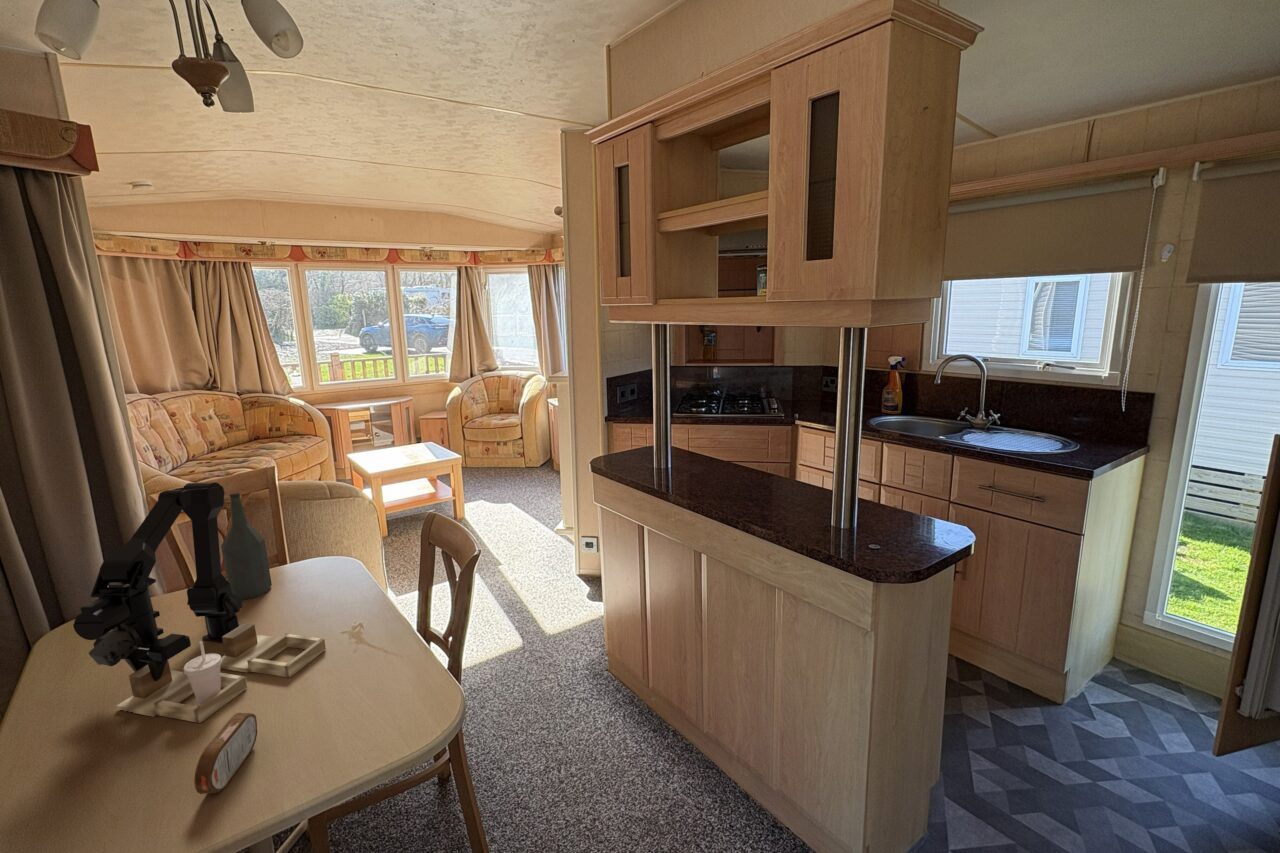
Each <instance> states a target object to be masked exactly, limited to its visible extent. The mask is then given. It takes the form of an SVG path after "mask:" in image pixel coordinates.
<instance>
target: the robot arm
mask: <svg viewBox="0 0 1280 853" xmlns="http://www.w3.org/2000/svg"><path fill="white" fill-rule="evenodd" d="M224 506H225V489H224V487H223V485H221V484H220V483H218V482H213V481H212V482H208V481H207V482H188V483H186V484H185V485H183V487H177V488H172V489H165V490H163V491H161V492H160V493H159V494H158V497H157V501H156V503H155V504H154V505H153V507H152V508H151V509H150V511H149V512H148V514H147V516H145V518H144V520H143V521H142V522H141V523H140V524H139V527H138V528H137V529H136V531H135V532H134V533H133V535H132V536H131V538H130V539H129V540H128V541H127V542H126V543H124V544H122V545H121V546H119V547H117V548H115V549H114V550H113V551H112V552H111V553H110V554H109V556H107V557H106V558H105V560H104V561H103V562H102V563H101V565H100V567H99V571H98V573H97V577H96V579H95V583H94V585H93V588H92V591H91V593H90V598H92V599H93V598H94V599H95V600H94V601H91V602H90V603H87V604H85V605H82V606H81V607H80V614H77V616H76V617H75V619H74V621H73V624H72V625H73V629H74V632H75V633H76V634H77V635H78V636H79V637H80V638H82V639H84V640H86V641H87V640H88V641H94V642H93V647H92V648H91V649H90V650H89V652H88V655H89V656H90V657H91V658H92V660H94V662H96V664H97V665H98V666H99V665H104V666H107V667H115V666H117V664H119V663H120V662H121V660H124V661H125V663H127V664H128V666H130V667H129V668H131V669H132V671H134V672H136V671H137V670H139V669H141V668H142V667H144V666H146V665H148V667H149V669H150V672H151V675H152V677H153V679H154V681H158V680H159V679H160V678H161V676H162V673H163V671H164V668H165V665H166V662H167V660H168V661H169V660H170V659H172V658H173V657H175V656H177V655H179V654H180V653H182V652H183V651H185V650H186V649H188V648H189V647H191V645H192V644H191V639H190V636H189V635H185V634H179V633H170V634H168V635H167V636H164V637H161V638H158V637H159V636H160V635H161V636H162V635H163V634H164V628H161V627H158V626H157V621H156V620H157V619H156V618H158V617H160V616H161V615H160V611H159V610H154V607H153V602H152V598H151V594H150V590H149V587H150V586H152V585H153V584H155V583H156V582H157V579H155V578H152V577H149V576H150V575H151V573H152V571H153V569H154V566H155V564H156V563H157V557H156V552H157V550H158V548H159V546H160V544H161V543H162V541H163V540H164V538H165V537H166V535H167V534H168V532H169V531H170V529H171V527H172V526H173V525H174V524H175V522H176V520H177V519H178V517H179V515H180V514H181V513H182V512H183V513H185V515H186V516H187V517H188V519H190V521H191V530H192V542H193V554H194V565H195V573H196V574H195V575H196V576H195V577H196V579H195V581H194V582H193V584H192V586H190V587H188V588H187V589H186V595H187V602H186V603H187V604H186V606H189V610H190V611H192V612H193V614H194V615H195V617H197V618H199V617H204V621H205V622H204V623H205V626H206V632H207V634H205V635H204V636H202V640H204V641H209V642H211V641H212V642H216V643H217V642H218V643H223V639H222V637H223V636H224V635H226V634H227V633H229V632H231V631H232V630H234V629H235V628H237V627H239V626H240V624H239V618H238V615H237V613H240V612H241V609H242V608H243V600H244V599H242V598H240V597H238V596H236V595H234V594H232V591H231V586H230V583H229V582H228V581H227V578H226V577H225V576H224V575H223V573H222V563H221V554H220V552H221V550H220V539H219V527H218V526H219V525H218V516H219V515H220V513H221V511H222V509H223V508H224ZM109 585H124V586H109ZM96 598H97V599H96ZM134 672H133V673H134Z"/></svg>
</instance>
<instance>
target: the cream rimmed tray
mask: <svg viewBox="0 0 1280 853" xmlns="http://www.w3.org/2000/svg"><path fill="white" fill-rule="evenodd" d="M220 676H221V691H220V692H218V693H217V694H215V695H214V696H213V697H211V698H210V699H208V700H207V701H206V702H204V703H203V704H201V705H200V706H199V705H198V706H196V705H191V704H185V703H181V702H182V701H184V700H185V699H187V698H189V697H190V696H191V695H193V694H194V692H193V689H192V687H191V684H190V682H189V679H188V676H187V675H185V674H184V671H180V670H179V671H178V670H171V667H170V663H169V659H168V660H167V662H166V665H165V668H164V671H163V673H162V676H161V678H160V679H159V680H158V681H154V679H153V677H152V675H151V672H150V669H149V667H148V665H146V666H144V667H142V668H141V669H139V670H137V671H136V672H133V673H131V674H129V675H128V680H129V684H130V688H131V692H132V696H130V697H128V698H126V699H125V700H124V701H122V702H120V703H118V704H117V705H116V709H117V708H118V709H122V710H126V711H129V712H128V713H131V712H133V713H132V714H138V715H142V716H143V715H144V716H148V717H149V716H150V717H153V718H154V717H156V716H159V717H160V716H161V717H165V718H171V719H177V720H180V721H181V720H183V721H188V722H194V723H199V724H200V723H202V722H203V721H205V720H206V719H208V717H210V716H212V715H213V714H215V713H216V712H217V711H219V710H220V709H221V708H222V707H224V706H225V705H226V704H227V703H229V702H230V701H232V700H233V699H234V698H236V697H237V696H239V695H240V694H241V693H242V692H244V691H245V690H247V688H248V684H247V680H246V676H243V675H239V674H238V675H236V674H230V673H225V672H220ZM126 711H125V712H126Z"/></svg>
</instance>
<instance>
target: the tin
mask: <svg viewBox="0 0 1280 853" xmlns="http://www.w3.org/2000/svg"><path fill="white" fill-rule="evenodd" d="M257 736H258V721H257V716H256V715H255V714H254V713H251V712H249V713H248V712H244V713H243V712H236V713H234V714H233V715H231V717H230V718H229V719H228V720H227V722H225V724H224V725H223V726H222V728H221V729H220V730H219V731H218V732H217V734H216V735H214V737H213V738H212V739H211V740H210V741H209V742H208V743H207V745H206V746H205V748H204V749H203V751H202V753H201V754H200V756H199V759H198V761H197V764H196V768H195V772H194V777H193V778H194V782H193V783H194V789H195V791H196V793H198V794H199V795H204V794H216V793H220V792H221V791H222V790H224V789H225V787H226V786H228V784H229V783H230V781H231V780H232V779H233V777H234V776H235V774H236V773H237V772H238V771H239V770H240V768H241V767H242V766H243V764H244V762H245V761H246V760H247V758H249V756H250V754H251V753H252V751H253V748H254V747H255V744H256V741H257Z"/></svg>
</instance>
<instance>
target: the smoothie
mask: <svg viewBox="0 0 1280 853" xmlns="http://www.w3.org/2000/svg"><path fill="white" fill-rule="evenodd" d="M198 642H199V648H200V653H201V655H198V656H196V657H194V658H192V659H191V660H189V661H188V662H186V663H185V664H184V665H183V672H184V674H185V675H187V676H188V679H189V682H190V684H191V687H192V689H193V692H194V693H193V694H194V696H195V699H196V702H197V704H198V707H199V706H200V705H201V704H203V703H204V702H206V701H207V700H208V699H210V698H211V697H213V696H214V695H215V694H217V693H218V692H220V691H221V690H222V687H221V676H220V673H221V668H220V664H221V662H222V659H221V657H222V656H221V655H220V653H219V654H218V653H206V652H205V647H204V641H202V640H200V641H198Z"/></svg>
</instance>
